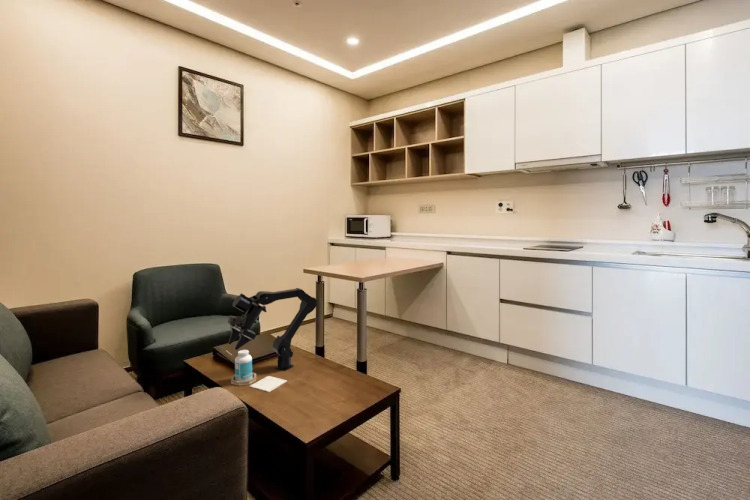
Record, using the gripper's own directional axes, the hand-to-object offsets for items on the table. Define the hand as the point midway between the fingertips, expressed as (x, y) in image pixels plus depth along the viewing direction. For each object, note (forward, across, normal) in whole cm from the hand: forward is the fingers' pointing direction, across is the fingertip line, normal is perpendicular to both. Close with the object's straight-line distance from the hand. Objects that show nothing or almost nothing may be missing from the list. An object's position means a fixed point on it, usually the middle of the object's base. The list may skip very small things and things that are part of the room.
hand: (232, 346), depth 169 cm
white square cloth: (+6, +14, +19) cm, 24 cm away
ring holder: (+11, +3, +12) cm, 17 cm away
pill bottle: (+11, +3, +13) cm, 17 cm away
